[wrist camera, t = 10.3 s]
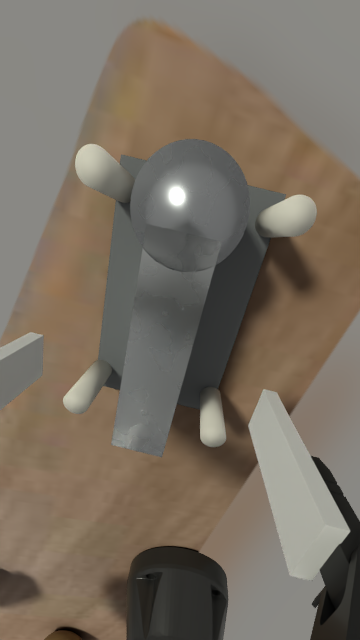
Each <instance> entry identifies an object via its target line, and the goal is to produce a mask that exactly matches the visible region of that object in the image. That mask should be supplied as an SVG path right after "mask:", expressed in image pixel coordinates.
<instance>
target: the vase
mask: <svg viewBox="0 0 360 640" xmlns="http://www.w3.org/2000/svg"><path fill="white" fill-rule="evenodd" d="M45 640H82V639H81V638H80V637H79V636H78V635H77V634H75V633H73V632H70V631H65V630H60V631H56V632H53V633H51V634H50V635H48V636H47V637H46V638H45Z"/></svg>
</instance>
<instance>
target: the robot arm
mask: <svg viewBox="0 0 360 640" xmlns="http://www.w3.org/2000/svg"><path fill="white" fill-rule="evenodd" d="M43 337H44V335H40V334H36V333H32V332H30V333H28V334H26V335H24V336H22V337H20V338H18V339H16V340H15V341H13V342H11V343H9V344H7V345H5V346H3V347H1V348H0V410H1V409H2V408H3V407H5V406H6V405H7V404H8V403H9V402H11V401H12V400H13V399H14V398H16V397H17V396H18V395H19V394H20V393H22V392H23V391H24V390H25V389H26V388H28V387H29V386H30V385H31V384H32V383H34V382H35V381H36V380H37V379H38V378H40V377H41V376H42V371H43ZM248 427H249V430H250V434H251V437H252V441H253V445H254V448H255V452H256V455H257V459H258V463H259V466H260V470H261V473H262V477H263V480H264V484H265V488H266V491H267V495H268V499H269V502H270V505H271V509H272V513H273V517H274V520H275V524H276V527H277V531H278V535H279V538H280V541H281V545H282V549H283V553H284V556H285V560H286V563H287V567H288V570H289V574H290V576H293V577H297V578H301V579H305V580H309V581H313V579H314V578H315V577H316V575H317V574H318V573H319V571H320V572H321V575H322V578H323V581H324V583H325V587H324V588H323V590H322V591H321V592H320V593H319V595H318V596H317V597H316V598H315V600H314V601H313V603H312V605H313V606H314V607H315V608H316V607H317V605H318V604H319V605H318V609H317V614H316V618H315V622H314V626H313V630H312V635H311V639H310V640H360V521H359V520H358V518H357V516H356V514H355V513H354V511H353V509H352V508H351V506H350V504H349V502H348V501H347V499H346V497H344V496H343V492H342V490H341V489H340V487H339V486H338V485H337V482H336V481H335V479H334V477H333V475H332V473H331V472H330V470H329V469H328V468H327V467H326V466H325V464H323V462H322V461H321V460H320V459H319V458H317V457H313V456H310V454H309V452H308V450H307V449H306V447H305V445H304V443H303V441H302V439H301V437H300V435H299V434H298V432H297V430H296V428H295V426H294V424H293V422H292V421H291V419H290V417H289V415H288V413H287V411H286V409H285V407H284V405H283V404H282V402H281V400H280V398H279V396H278V394H277V392H273V391H269V390H265V389H263V392H262V394H261V397H260V399H259V401H258V404H257V406H256V408H255V411H254V413H253V415H252V418H251V420H250V423H249V425H248ZM227 607H228V590H227V578H226V574H225V572H224V570H223V569H222V568H221V566H220V565H219V564H218V563H216V562H215V561H214V560H212V559H211V558H209V557H207V556H205V555H203V554H201V553H198V552H196V551H192V550H189V549H184V548H177V547H160V548H154V549H150V550H147V551H144V552H142V553H140V554H139V555H137V556H136V557H135V558H134V560H133V561H132V563H131V567H130V572H129V576H128V581H127V640H223V635H224V629H225V621H226V613H227Z"/></svg>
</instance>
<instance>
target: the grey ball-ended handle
mask: <svg viewBox="0 0 360 640" xmlns="http://www.w3.org/2000/svg"><path fill="white" fill-rule="evenodd" d="M249 212H250V196H249V189H248V185H247V182H246V179H245V176H244V174H243V172H242V170H241V168H240V167H239V165H238V164H237V162H236V161H235V160H234V159H233V158H232V157H231V156H230V155H229V154H228V153H227V152H226V151H225V150H223V149H222V148H221V147H219V146H217V145H215V144H213V143H210V142H207V141H204V140H197V139H186V140H179V141H176V142H173V143H170V144H168V145H166V146H164V147H162V148H161V149H159V150H158V151H157V152H155V153H154V154H153V155H152V156H151V157H150V158H149V159H148V160H147V161H146V163H145V164H144V165H143V167H142V168H141V170H140V171H139V173H138V175H137V178H136V180H135V182H134V186H133V189H132V194H131V201H130V215H131V221H132V225H133V229H134V232H135V234H136V237H137V239H138V241H139V243H140V244H141V246H142V247H143V250H142V256H141V262H140V268H139V275H138V281H137V287H136V293H135V300H134V306H133V312H132V318H131V325H130V331H129V337H128V343H127V350H126V356H125V362H124V368H123V375H122V381H121V387H120V393H119V400H118V406H117V412H116V418H115V425H114V431H113V437H112V443H111V445H114V446H118V447H123V448H127V449H131V450H135V451H139V452H143V453H147V454H151V455H155V456H159V457H162V455H163V451H164V448H165V444H166V441H167V437H168V433H169V430H170V426H171V423H172V419H173V415H174V412H175V408H176V405H177V401H178V397H179V394H180V390H181V387H182V383H183V379H184V376H185V372H186V369H187V365H188V361H189V358H190V354H191V351H192V347H193V343H194V340H195V336H196V333H197V329H198V325H199V322H200V318H201V315H202V311H203V307H204V304H205V300H206V297H207V293H208V289H209V286H210V282H211V279H212V275H213V271H214V268H215V265H217V264H218V263H220V262H221V261H223V260H224V259H225V258H226V257H228V256H229V255H230V254H231V253H232V251H233V250H234V249H235V248H236V246H237V245H238V243H239V242H240V240H241V238H242V236H243V234H244V232H245V229H246V227H247V223H248V219H249Z"/></svg>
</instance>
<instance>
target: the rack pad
mask: <svg viewBox="0 0 360 640" xmlns="http://www.w3.org/2000/svg"><path fill="white" fill-rule="evenodd" d="M145 163H146V160H142V159H138V158H134V157H129V156H125V155H121V159H120V164H119V163H118V162H117V161H116V160H115V159H114V158H113V157H112V156H111V155H110V154H109V153H107V152H106V151H105V150H104V149H103V148H102V147H100V146H98V145H96V144H88V145H85V146H83V147H82V148H81V149H80V150H79V152H78V154H77V156H76V161H75V167H76V172H77V174H78V177H79V178H80V180H81V181H82V182H83V183H84V184H85V185H86V186H88V187H90V188H92V189H94V190H97V191H99V192H101V193H103V194H105V195H107V196H109V197H111V198H113V199H115V200H116V204H115V213H114V222H113V231H112V240H111V249H110V258H109V267H108V276H107V285H106V294H105V303H104V312H103V321H102V330H101V339H100V348H99V357H98V360H97V361H95V362H94V363H93V364H92V365H91V366H90V368H89V369H88V370H87V371H86V372H85V373H84V375H83V376H82V377H81V378H80V379H79V380H78V381H77V383H76V384H75V385H74V386H73V387H72V388H71V390H70V391H69V392H68V393H67V394H66V395H65V397H64V399H63V403H64V406H65V407H66V408H67V409H68V410H69V411H70V412H72V413H76V414H81V413H84V412H86V410H87V409H88V408H89V406H90V405H91V403H92V402H93V400H94V399H95V397H96V396H97V394H98V393H99V391H100V390H101V388H102V387H103V386H106V387H110V388H114V389H118V390H120V387H121V381H122V375H123V368H124V362H125V356H126V350H127V343H128V337H129V331H130V325H131V318H132V312H133V306H134V300H135V293H136V287H137V281H138V275H139V268H140V262H141V256H142V250H143V247H142V246H141V244H140V243H139V241H138V239H137V237H136V234H135V232H134V229H133V225H132V221H131V215H130V201H131V194H132V189H133V186H134V182H135V180H136V178H137V175H138V173H139V171H140V170H141V168H142V167H143V165H144V164H145ZM248 189H249V196H250V212H249V219H248V223H247V227H246V229H245V232H244V234H243V236H242V238H241V240H240V242H239V243H238V245H237V246H236V248H235V249H234V250H233V251H232V253H231V254H230V255H229V256H228V257H226V258H225V259H224V260H223V261H221V262H220V263H218V264H217V265H215V268H214V271H213V275H212V279H211V282H210V286H209V289H208V293H207V297H206V300H205V304H204V307H203V311H202V315H201V318H200V322H199V325H198V329H197V333H196V336H195V340H194V343H193V347H192V351H191V354H190V358H189V361H188V365H187V369H186V372H185V376H184V379H183V383H182V387H181V390H180V394H179V397H178V401H177V404H179V405H183V406H187V407H191V408H195V409H199V410H200V439H201V441H202V442H203V443H204V444H205V445H207V446H209V447H218V446H221V445H222V444H224V442H225V441H226V432H225V424H224V417H223V409H222V401H221V394H220V391H219V390H218V387H219V385H220V382H221V379H222V376H223V373H224V370H225V367H226V365H227V362H228V359H229V356H230V353H231V350H232V347H233V345H234V342H235V339H236V336H237V333H238V330H239V327H240V325H241V322H242V319H243V316H244V313H245V310H246V307H247V305H248V302H249V299H250V296H251V293H252V290H253V287H254V285H255V282H256V279H257V276H258V273H259V270H260V268H261V265H262V262H263V259H264V256H265V253H266V250H267V248H268V245H269V242H270V239H271V237H293V236H299V235H302V234H304V233H305V232H307V231H308V230H309V229H310V228H311V227H312V225H313V224H314V221H315V219H316V214H317V210H316V205H315V203H314V202H313V200H312V199H311V198H309V197H308V196H305V195H295V196H292V197H290V198H288V199H286V200H284V199H285V196H286V194H282V193H277V192H273V191H269V190H265V189H261V188H257V187H253V186H249V185H248Z"/></svg>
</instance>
